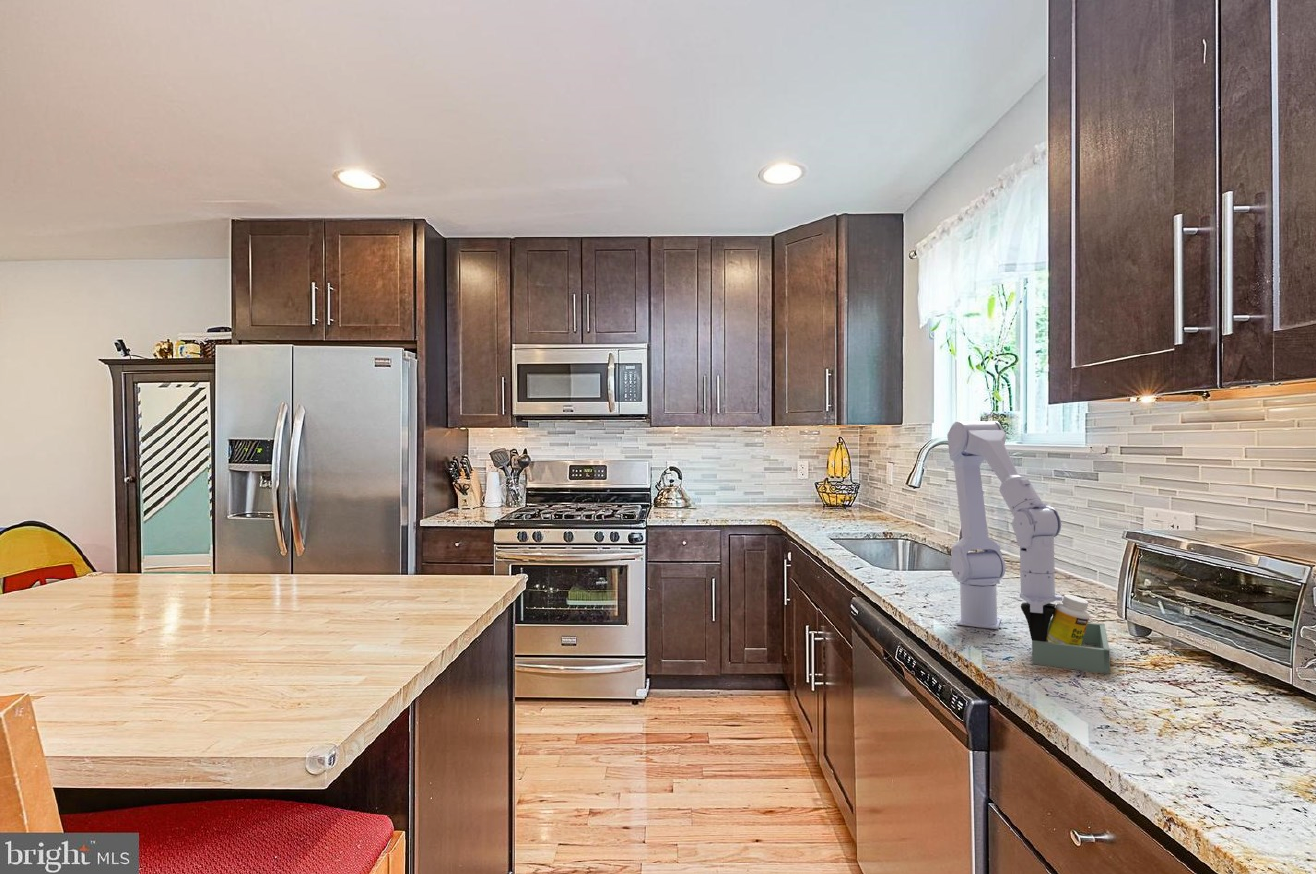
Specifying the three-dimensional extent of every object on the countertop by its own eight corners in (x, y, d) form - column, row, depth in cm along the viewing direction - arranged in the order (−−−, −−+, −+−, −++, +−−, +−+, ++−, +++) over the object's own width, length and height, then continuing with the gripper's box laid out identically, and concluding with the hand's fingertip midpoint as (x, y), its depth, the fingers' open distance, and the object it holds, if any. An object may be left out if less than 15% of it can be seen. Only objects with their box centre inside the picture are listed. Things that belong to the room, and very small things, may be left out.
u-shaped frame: (1036, 637, 138) (1036, 617, 138) (1105, 644, 132) (1104, 624, 132) (1032, 663, 122) (1032, 641, 122) (1110, 674, 116) (1109, 650, 116)
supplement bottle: (1067, 658, 124) (1082, 605, 122) (1038, 643, 128) (1053, 592, 127) (1084, 656, 126) (1099, 604, 125) (1055, 641, 131) (1070, 592, 130)
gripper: (1061, 580, 121) (1063, 656, 121) (1062, 566, 134) (1063, 635, 134) (1016, 576, 125) (1018, 650, 125) (1021, 563, 137) (1022, 630, 137)
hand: (1038, 642), depth 130 cm, fingers closed, pressing on supplement bottle
